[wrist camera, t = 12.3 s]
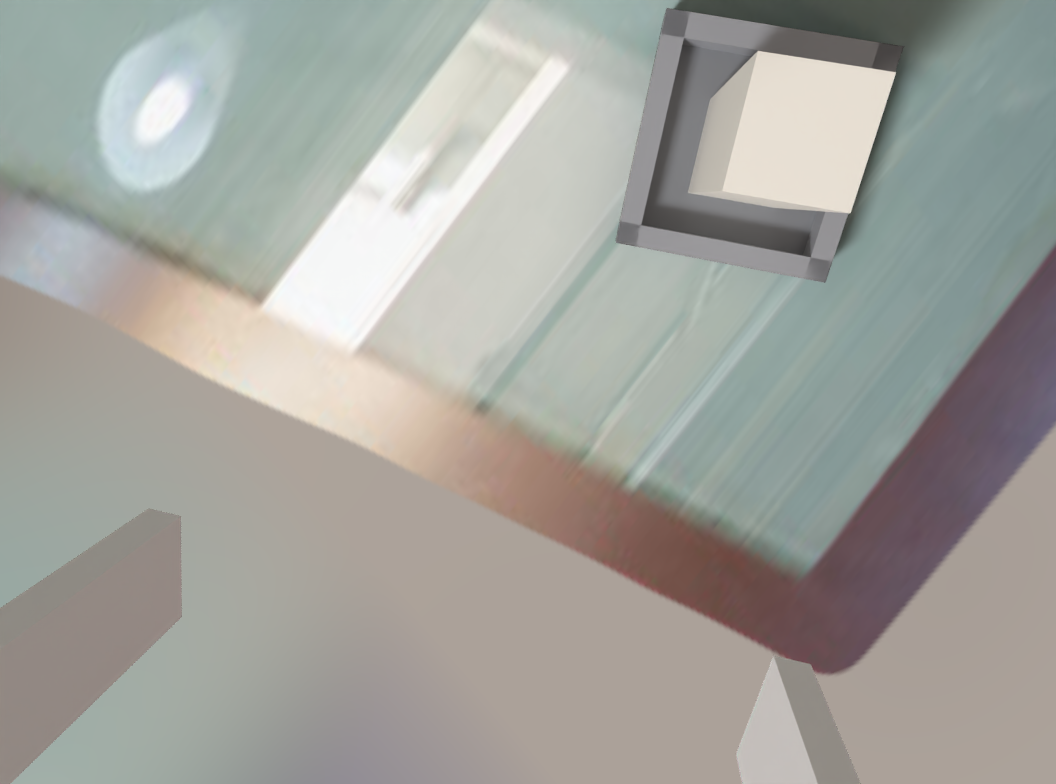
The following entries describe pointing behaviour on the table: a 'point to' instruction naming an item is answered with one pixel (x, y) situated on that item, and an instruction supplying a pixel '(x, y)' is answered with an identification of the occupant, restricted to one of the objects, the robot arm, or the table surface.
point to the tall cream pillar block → (791, 133)
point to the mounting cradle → (674, 136)
